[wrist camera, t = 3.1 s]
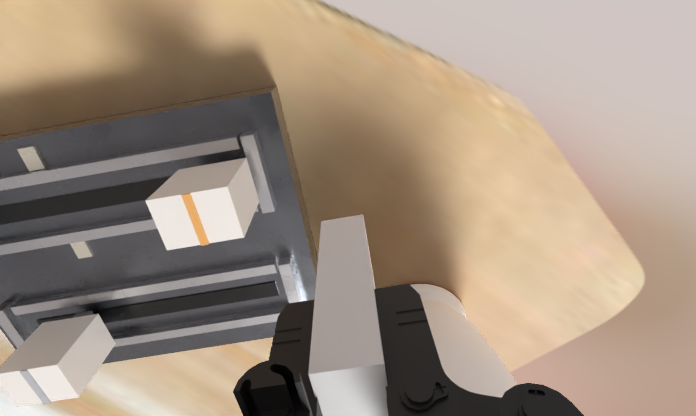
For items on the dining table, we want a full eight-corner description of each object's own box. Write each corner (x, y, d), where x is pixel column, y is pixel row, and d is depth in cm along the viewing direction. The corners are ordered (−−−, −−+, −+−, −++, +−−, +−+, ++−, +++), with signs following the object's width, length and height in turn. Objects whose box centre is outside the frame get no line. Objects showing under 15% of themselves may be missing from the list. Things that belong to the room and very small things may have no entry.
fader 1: (72, 339, 29) (15, 408, 24) (54, 311, 27) (-11, 376, 22) (124, 331, 29) (77, 398, 23) (107, 302, 27) (55, 366, 22)
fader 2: (201, 204, 24) (166, 251, 19) (186, 162, 23) (144, 201, 18) (262, 193, 24) (243, 238, 19) (250, 151, 23) (226, 187, 18)
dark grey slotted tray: (54, 350, 33) (25, 385, 30) (-81, 150, 25) (-141, 168, 22) (329, 306, 32) (329, 337, 29) (276, 86, 24) (268, 94, 21)
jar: (501, 308, 33) (621, 506, 19) (424, 380, 36) (479, 592, 23) (405, 249, 30) (466, 434, 16) (331, 333, 33) (330, 545, 20)
